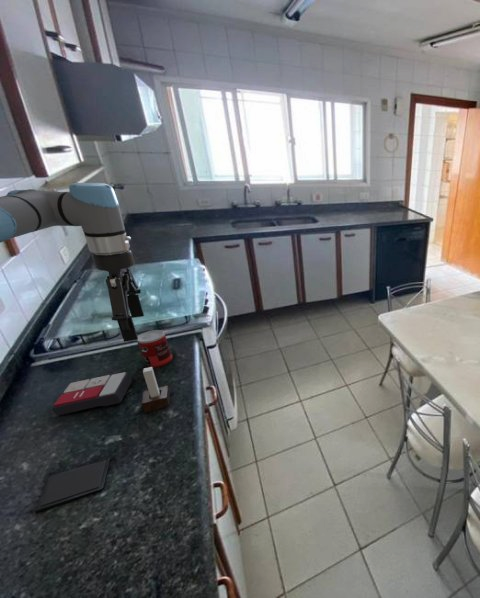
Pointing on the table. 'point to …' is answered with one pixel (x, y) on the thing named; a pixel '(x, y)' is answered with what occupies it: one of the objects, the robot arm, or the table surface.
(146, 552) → the table surface
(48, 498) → the plate
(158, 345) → the canned food
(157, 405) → the pen stand
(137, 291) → the robot arm
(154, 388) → the white square rod
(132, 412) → the table surface
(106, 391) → the red grey flat block
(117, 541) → the table surface
